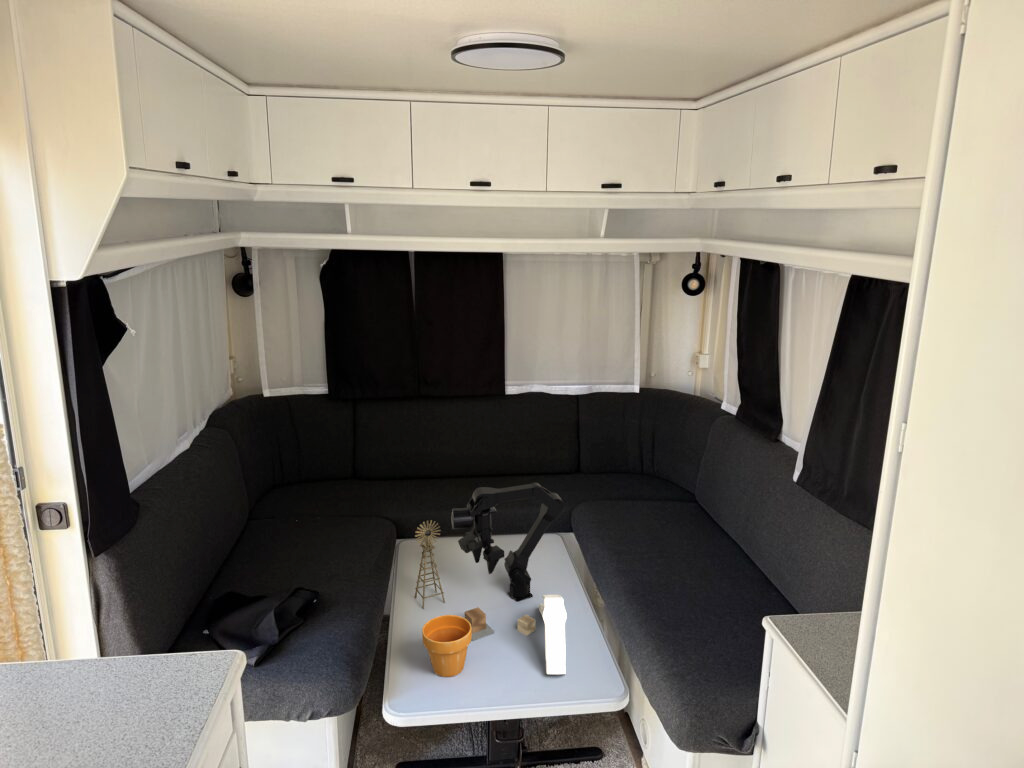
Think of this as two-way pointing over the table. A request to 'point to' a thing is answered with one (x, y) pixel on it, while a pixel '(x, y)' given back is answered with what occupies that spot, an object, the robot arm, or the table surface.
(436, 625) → the flower pot
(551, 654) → the white elongated block
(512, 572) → the robot arm
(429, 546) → the miniature windmill
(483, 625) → the walnut cube
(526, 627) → the maple cube
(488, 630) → the plate
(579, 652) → the table surface
